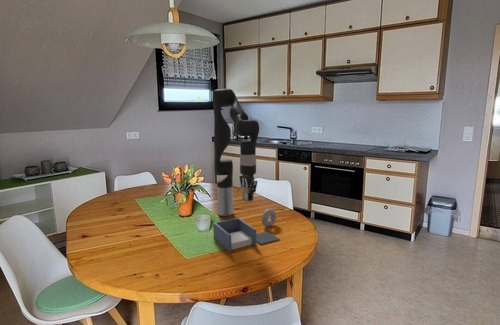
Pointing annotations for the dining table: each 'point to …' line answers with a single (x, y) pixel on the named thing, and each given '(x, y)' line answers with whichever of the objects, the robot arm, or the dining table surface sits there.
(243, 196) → the maple block
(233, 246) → the slot box
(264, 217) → the donut
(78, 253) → the dining table surface
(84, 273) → the dining table surface
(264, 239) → the rubber mat
